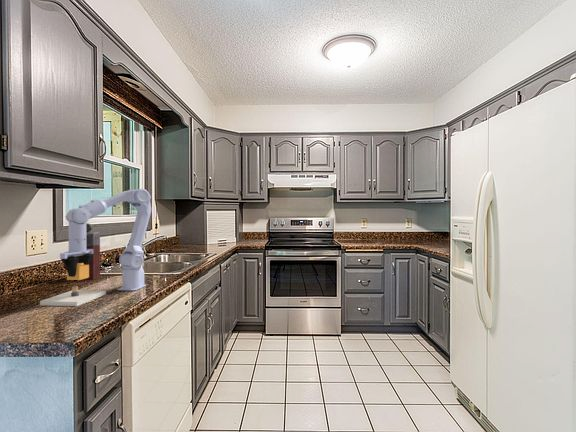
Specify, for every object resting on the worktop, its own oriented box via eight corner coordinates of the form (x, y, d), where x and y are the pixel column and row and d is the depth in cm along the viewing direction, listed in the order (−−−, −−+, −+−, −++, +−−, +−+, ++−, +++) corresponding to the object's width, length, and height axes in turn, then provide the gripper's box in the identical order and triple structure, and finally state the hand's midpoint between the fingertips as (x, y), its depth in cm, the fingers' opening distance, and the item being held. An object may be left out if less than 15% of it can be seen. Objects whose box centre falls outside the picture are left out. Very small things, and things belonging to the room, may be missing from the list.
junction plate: (73, 293, 128) (73, 281, 128) (105, 294, 127) (105, 282, 127) (39, 305, 112) (39, 291, 112) (77, 306, 111) (76, 292, 111)
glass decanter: (71, 281, 150) (71, 223, 150) (81, 276, 161) (80, 223, 161) (92, 280, 152) (92, 223, 152) (100, 276, 163) (100, 223, 163)
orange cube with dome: (77, 277, 122) (77, 262, 122) (89, 277, 122) (89, 262, 122) (66, 279, 117) (66, 264, 117) (79, 280, 117) (79, 264, 117)
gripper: (72, 241, 112) (72, 279, 112) (100, 238, 126) (100, 271, 126) (54, 241, 112) (54, 278, 113) (84, 238, 127) (84, 271, 127)
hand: (77, 274), depth 120 cm, fingers closed on orange cube with dome, 5 cm apart
